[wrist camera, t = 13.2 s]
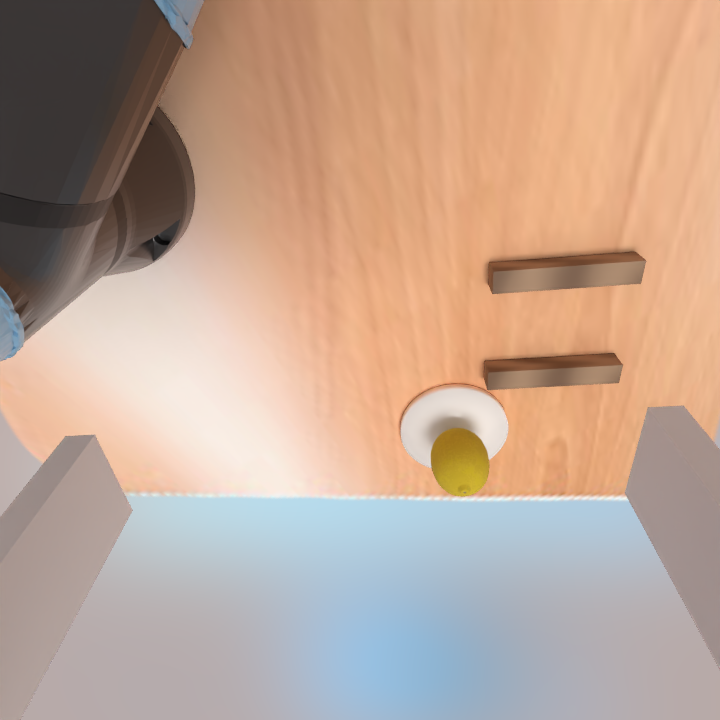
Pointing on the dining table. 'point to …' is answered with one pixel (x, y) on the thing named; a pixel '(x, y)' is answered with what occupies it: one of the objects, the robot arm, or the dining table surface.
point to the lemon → (460, 462)
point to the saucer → (452, 419)
